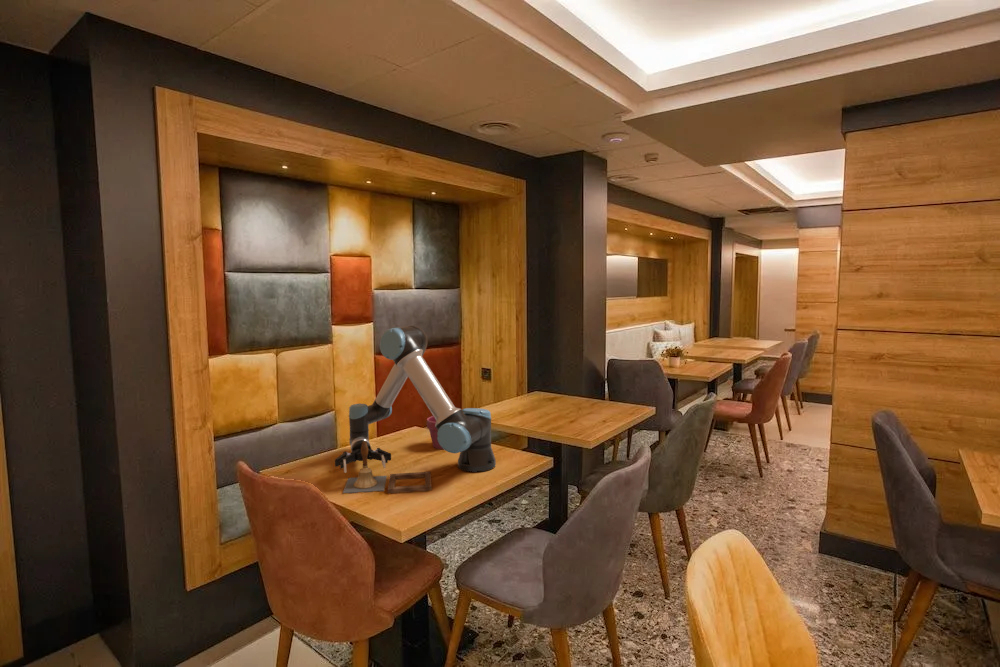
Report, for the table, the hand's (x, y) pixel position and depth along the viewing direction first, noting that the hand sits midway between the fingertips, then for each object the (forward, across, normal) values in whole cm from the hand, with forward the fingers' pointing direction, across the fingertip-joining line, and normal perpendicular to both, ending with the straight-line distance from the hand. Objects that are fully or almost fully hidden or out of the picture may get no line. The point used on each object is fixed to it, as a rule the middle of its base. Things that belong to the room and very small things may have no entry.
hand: (365, 466), depth 183 cm
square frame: (+3, -16, -8) cm, 17 cm away
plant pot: (-37, -37, -8) cm, 53 cm away
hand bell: (-2, 0, -7) cm, 7 cm away
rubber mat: (-2, 0, -8) cm, 8 cm away
